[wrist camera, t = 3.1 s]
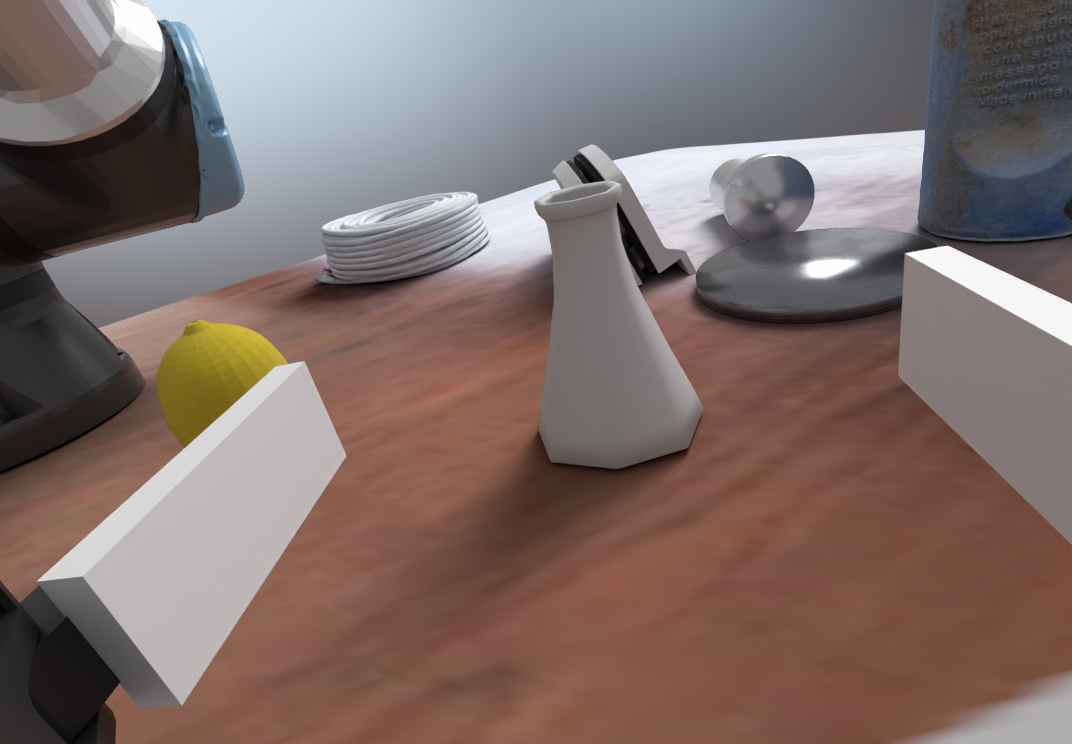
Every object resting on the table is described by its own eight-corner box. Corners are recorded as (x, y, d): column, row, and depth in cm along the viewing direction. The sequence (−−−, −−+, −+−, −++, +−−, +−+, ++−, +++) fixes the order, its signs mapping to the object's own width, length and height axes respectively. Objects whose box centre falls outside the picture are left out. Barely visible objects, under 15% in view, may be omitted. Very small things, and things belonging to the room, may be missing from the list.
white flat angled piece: (698, 273, 39) (629, 141, 35) (637, 310, 40) (564, 185, 36) (641, 225, 54) (589, 128, 50) (598, 252, 55) (543, 159, 51)
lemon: (278, 511, 25) (188, 345, 21) (186, 506, 27) (91, 354, 23) (349, 437, 29) (286, 290, 26) (267, 438, 31) (198, 302, 28)
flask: (527, 483, 23) (457, 236, 18) (547, 392, 29) (499, 192, 25) (716, 465, 21) (690, 190, 17) (694, 373, 27) (670, 156, 23)
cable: (306, 288, 63) (284, 234, 60) (424, 237, 74) (409, 190, 72) (402, 295, 52) (380, 229, 49) (524, 234, 63) (511, 178, 60)
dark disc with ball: (719, 339, 30) (709, 226, 27) (664, 224, 53) (655, 156, 50) (997, 295, 27) (1016, 166, 25) (813, 194, 50) (812, 122, 48)
